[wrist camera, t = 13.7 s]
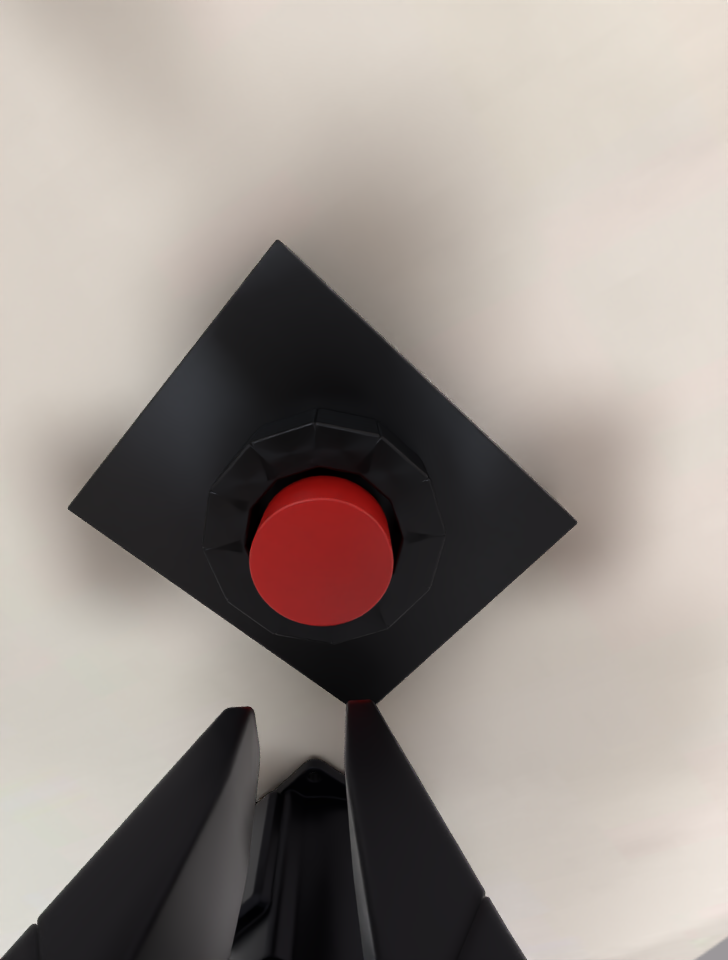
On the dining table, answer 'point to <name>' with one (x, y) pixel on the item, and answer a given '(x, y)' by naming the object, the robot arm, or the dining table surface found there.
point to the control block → (319, 452)
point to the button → (322, 552)
